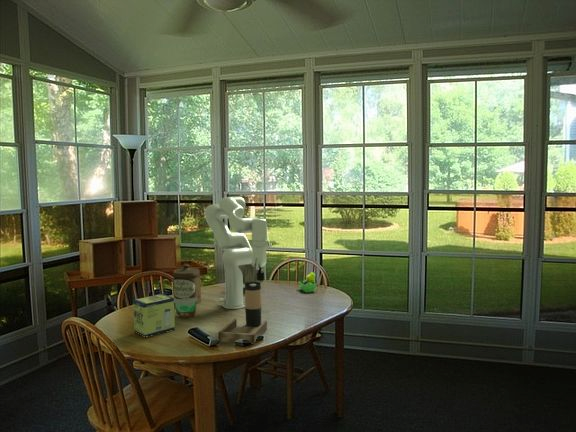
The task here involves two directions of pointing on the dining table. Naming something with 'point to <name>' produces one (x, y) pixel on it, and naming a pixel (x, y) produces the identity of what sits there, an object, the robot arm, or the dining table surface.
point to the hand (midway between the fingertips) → (260, 280)
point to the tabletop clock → (249, 273)
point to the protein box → (153, 315)
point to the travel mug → (253, 304)
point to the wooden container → (187, 283)
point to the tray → (240, 332)
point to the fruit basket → (308, 283)
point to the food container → (185, 307)
